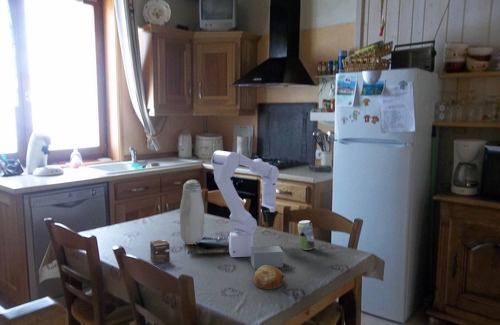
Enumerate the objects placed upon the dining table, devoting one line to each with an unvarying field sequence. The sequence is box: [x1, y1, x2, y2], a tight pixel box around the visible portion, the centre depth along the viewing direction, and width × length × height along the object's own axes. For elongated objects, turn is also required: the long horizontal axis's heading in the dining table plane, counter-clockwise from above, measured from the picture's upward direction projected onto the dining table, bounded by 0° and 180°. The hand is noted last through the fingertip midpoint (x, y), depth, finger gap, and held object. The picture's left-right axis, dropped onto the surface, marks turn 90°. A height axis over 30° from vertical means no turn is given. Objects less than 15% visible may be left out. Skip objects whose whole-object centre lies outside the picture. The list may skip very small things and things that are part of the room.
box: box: [149, 239, 171, 265], centre depth 156 cm, size 6×6×7 cm
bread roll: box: [252, 265, 285, 290], centre depth 137 cm, size 10×10×8 cm
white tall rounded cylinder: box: [179, 179, 205, 245], centre depth 174 cm, size 10×10×28 cm
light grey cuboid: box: [250, 245, 284, 270], centre depth 153 cm, size 11×6×6 cm, turn 100°
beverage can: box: [297, 219, 315, 251], centre depth 171 cm, size 6×7×12 cm
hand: (268, 224), depth 174 cm, fingers open, 7 cm apart
